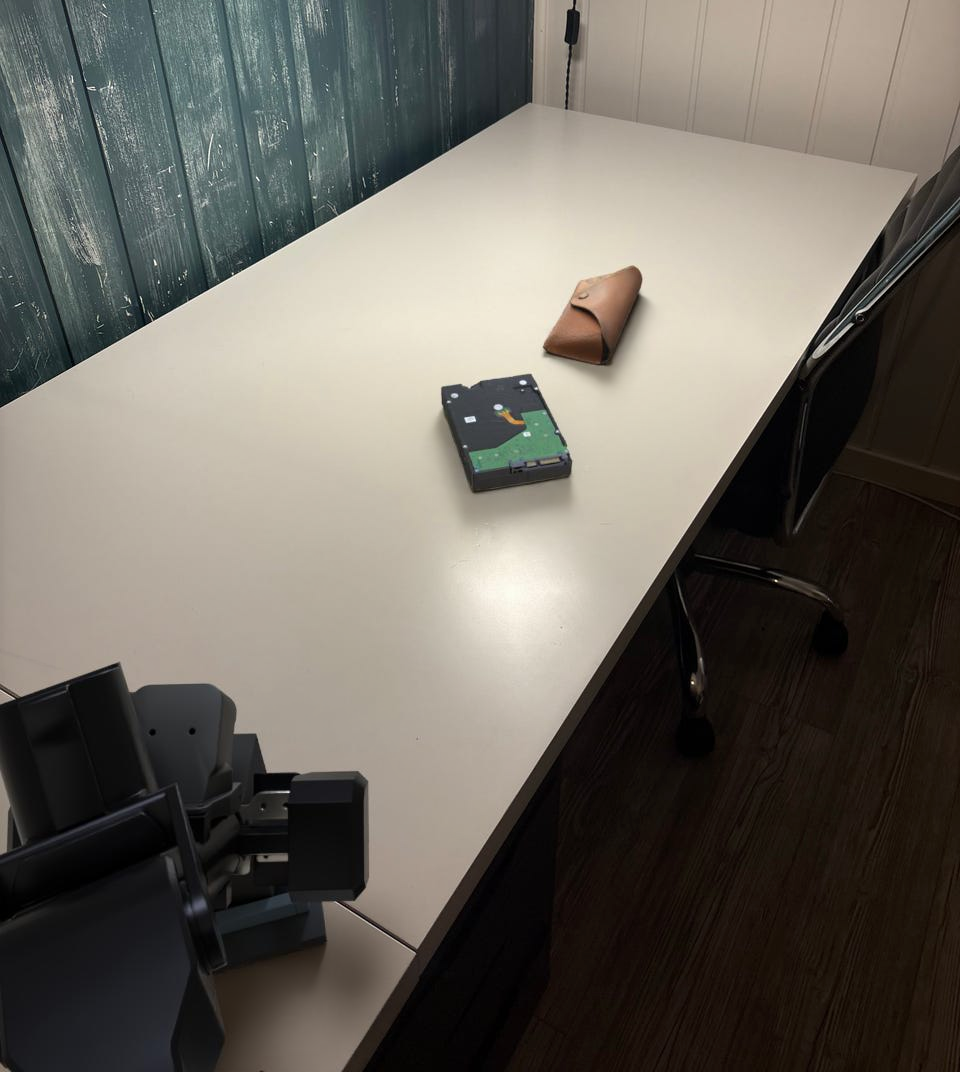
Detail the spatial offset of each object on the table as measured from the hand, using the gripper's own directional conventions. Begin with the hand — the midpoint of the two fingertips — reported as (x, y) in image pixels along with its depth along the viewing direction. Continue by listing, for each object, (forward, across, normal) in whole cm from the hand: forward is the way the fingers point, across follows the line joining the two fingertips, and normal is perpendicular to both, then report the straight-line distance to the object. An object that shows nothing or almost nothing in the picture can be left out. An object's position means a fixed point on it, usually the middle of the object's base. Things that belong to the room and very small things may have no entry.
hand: (232, 796), depth 59 cm
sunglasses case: (+52, -30, -42) cm, 74 cm away
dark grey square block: (+4, 0, +6) cm, 7 cm away
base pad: (+4, 0, +6) cm, 8 cm away
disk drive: (+37, -19, -26) cm, 48 cm away
